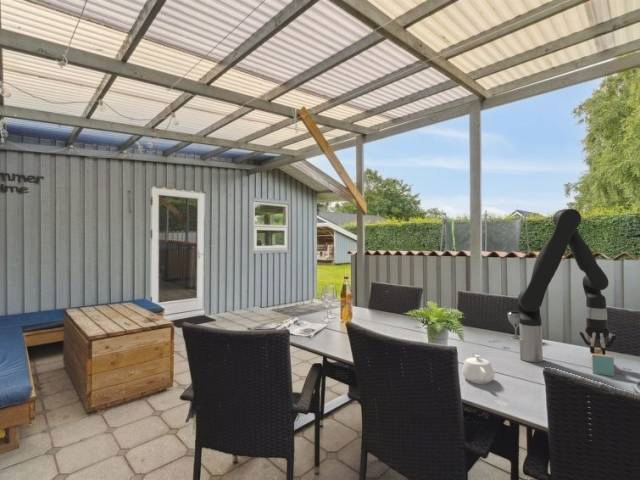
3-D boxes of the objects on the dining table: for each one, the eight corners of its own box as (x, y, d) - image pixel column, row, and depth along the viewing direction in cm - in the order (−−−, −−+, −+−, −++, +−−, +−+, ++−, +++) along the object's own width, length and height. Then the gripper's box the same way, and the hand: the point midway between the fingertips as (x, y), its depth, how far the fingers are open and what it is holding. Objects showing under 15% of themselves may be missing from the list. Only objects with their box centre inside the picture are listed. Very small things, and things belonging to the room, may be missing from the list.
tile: (593, 373, 144) (592, 354, 144) (592, 371, 146) (591, 353, 146) (614, 376, 140) (613, 357, 140) (613, 374, 142) (612, 355, 142)
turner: (592, 359, 146) (592, 350, 147) (587, 354, 160) (587, 346, 161) (610, 361, 143) (610, 352, 144) (603, 356, 157) (603, 348, 157)
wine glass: (525, 337, 198) (524, 311, 199) (522, 340, 193) (521, 314, 193) (510, 334, 204) (509, 310, 204) (506, 337, 198) (506, 312, 198)
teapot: (456, 369, 152) (456, 347, 152) (485, 370, 150) (485, 348, 150) (468, 388, 132) (467, 363, 132) (502, 390, 130) (501, 364, 130)
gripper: (578, 317, 154) (579, 354, 154) (618, 320, 146) (619, 359, 146) (576, 314, 160) (577, 350, 160) (614, 317, 153) (615, 354, 153)
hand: (597, 354), depth 153 cm, fingers closed on turner, 2 cm apart
